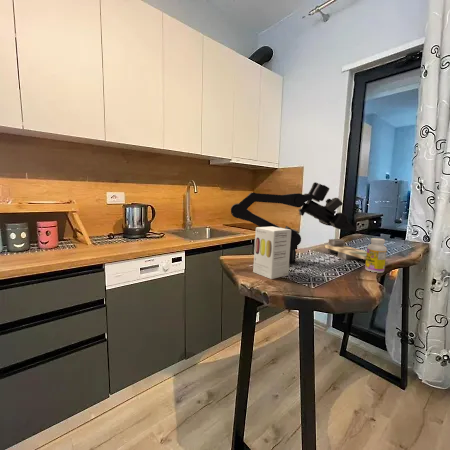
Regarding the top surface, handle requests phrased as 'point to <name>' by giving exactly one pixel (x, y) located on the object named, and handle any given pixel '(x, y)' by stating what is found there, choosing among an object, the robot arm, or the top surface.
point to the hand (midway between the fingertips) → (349, 227)
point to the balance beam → (344, 250)
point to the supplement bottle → (376, 256)
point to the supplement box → (272, 251)
